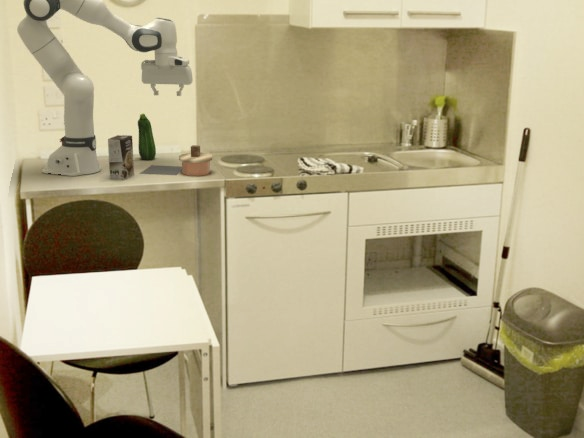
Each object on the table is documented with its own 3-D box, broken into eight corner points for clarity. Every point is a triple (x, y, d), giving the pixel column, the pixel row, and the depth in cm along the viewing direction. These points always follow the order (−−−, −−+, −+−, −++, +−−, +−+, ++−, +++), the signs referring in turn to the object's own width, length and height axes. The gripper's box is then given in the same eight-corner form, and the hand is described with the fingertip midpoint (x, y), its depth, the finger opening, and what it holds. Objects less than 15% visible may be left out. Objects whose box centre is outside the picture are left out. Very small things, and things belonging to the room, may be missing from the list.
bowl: (180, 176, 292) (179, 161, 290) (187, 170, 302) (187, 156, 300) (205, 177, 291) (205, 162, 289) (211, 171, 300) (211, 157, 298)
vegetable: (159, 160, 320) (157, 113, 314) (145, 162, 315) (143, 115, 309) (149, 157, 325) (147, 111, 319) (135, 160, 320) (133, 113, 314)
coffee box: (125, 181, 283) (123, 139, 279) (109, 180, 285) (106, 138, 280) (135, 176, 292) (132, 135, 287) (119, 175, 293) (117, 134, 288)
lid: (174, 162, 289) (174, 148, 288) (184, 155, 301) (183, 142, 300) (207, 163, 287) (207, 150, 286) (215, 156, 300) (215, 143, 298)
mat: (139, 174, 294) (139, 173, 294) (151, 166, 308) (151, 165, 308) (176, 176, 292) (176, 175, 292) (187, 168, 306) (186, 166, 306)
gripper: (138, 60, 294) (140, 95, 298) (188, 61, 292) (189, 97, 296) (143, 59, 300) (145, 93, 304) (193, 60, 298) (194, 95, 302)
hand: (167, 95), depth 300 cm, fingers open, 8 cm apart
